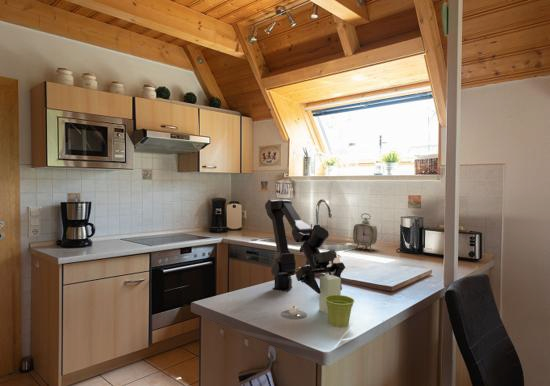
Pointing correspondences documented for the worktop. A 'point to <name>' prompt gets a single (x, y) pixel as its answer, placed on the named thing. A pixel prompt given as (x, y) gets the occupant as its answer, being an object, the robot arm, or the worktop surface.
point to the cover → (328, 290)
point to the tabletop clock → (365, 233)
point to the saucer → (299, 316)
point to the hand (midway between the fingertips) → (330, 291)
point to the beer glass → (333, 262)
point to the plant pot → (339, 309)
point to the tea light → (293, 311)
